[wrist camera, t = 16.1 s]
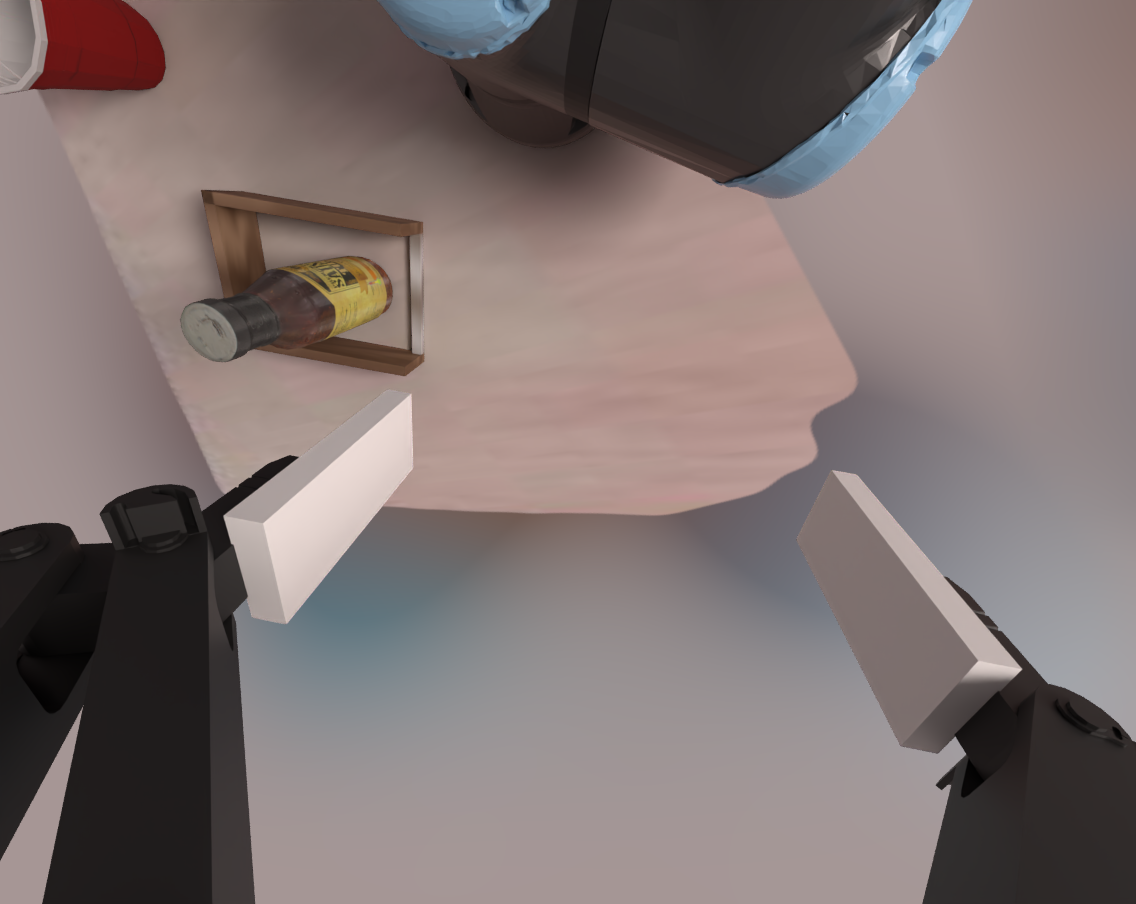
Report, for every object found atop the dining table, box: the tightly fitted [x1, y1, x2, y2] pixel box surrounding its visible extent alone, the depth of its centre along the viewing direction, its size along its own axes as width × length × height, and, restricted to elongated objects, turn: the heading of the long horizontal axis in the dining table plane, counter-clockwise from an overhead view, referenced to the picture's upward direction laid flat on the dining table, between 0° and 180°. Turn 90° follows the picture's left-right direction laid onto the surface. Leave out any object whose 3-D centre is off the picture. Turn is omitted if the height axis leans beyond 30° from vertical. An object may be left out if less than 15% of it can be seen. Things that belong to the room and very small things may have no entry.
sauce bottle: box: [180, 256, 393, 362], centre depth 39 cm, size 6×6×20 cm
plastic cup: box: [0, 0, 166, 94], centre depth 35 cm, size 11×11×12 cm
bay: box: [201, 190, 424, 376], centre depth 45 cm, size 14×18×5 cm
